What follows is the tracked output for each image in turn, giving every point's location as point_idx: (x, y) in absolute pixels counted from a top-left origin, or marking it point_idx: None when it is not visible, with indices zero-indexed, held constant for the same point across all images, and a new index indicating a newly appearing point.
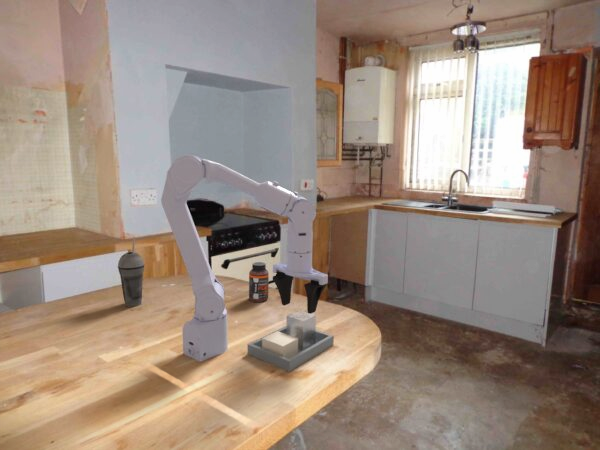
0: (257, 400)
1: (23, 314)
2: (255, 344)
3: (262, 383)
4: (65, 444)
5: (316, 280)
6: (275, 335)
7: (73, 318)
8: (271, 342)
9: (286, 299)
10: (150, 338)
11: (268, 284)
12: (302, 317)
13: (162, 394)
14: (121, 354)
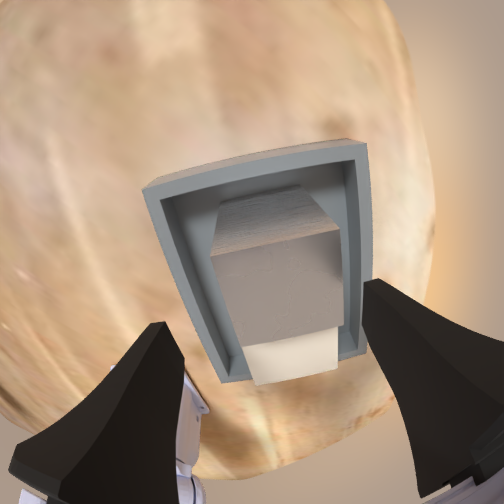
0: (359, 387)
1: (9, 418)
2: (225, 366)
3: (332, 372)
4: (271, 470)
5: (500, 470)
6: (265, 357)
7: (14, 407)
8: (292, 377)
9: (171, 370)
10: (75, 404)
11: None
12: (310, 305)
13: (251, 442)
14: None
